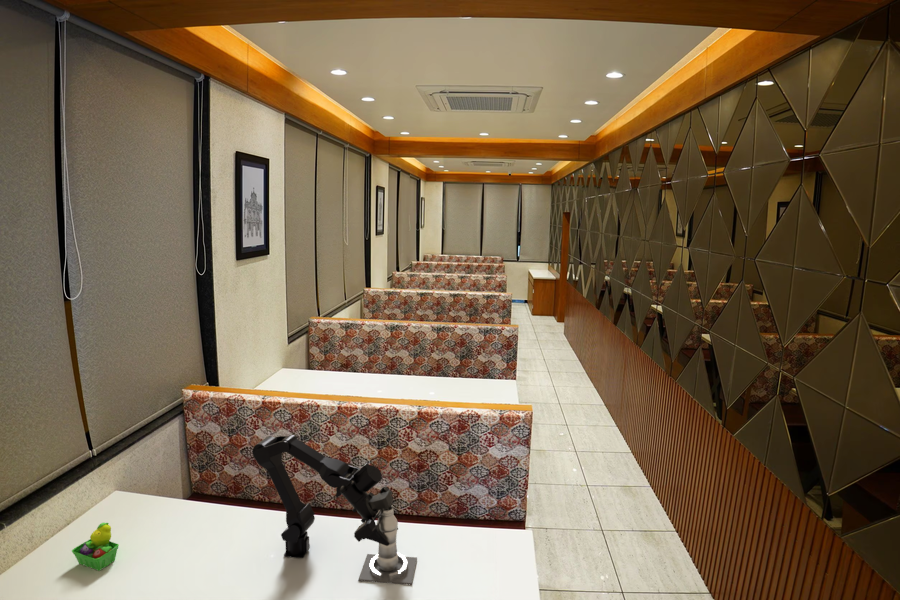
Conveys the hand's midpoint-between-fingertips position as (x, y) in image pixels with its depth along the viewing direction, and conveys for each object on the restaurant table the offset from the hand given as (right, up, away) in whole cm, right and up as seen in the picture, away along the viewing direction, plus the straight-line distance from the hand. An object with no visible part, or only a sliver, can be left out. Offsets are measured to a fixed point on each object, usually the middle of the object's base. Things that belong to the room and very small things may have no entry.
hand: (392, 537), depth 161 cm
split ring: (-2, -11, +2) cm, 11 cm away
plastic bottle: (-2, -11, +2) cm, 11 cm away
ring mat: (-2, -11, +2) cm, 11 cm away
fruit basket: (-92, -9, +3) cm, 92 cm away
